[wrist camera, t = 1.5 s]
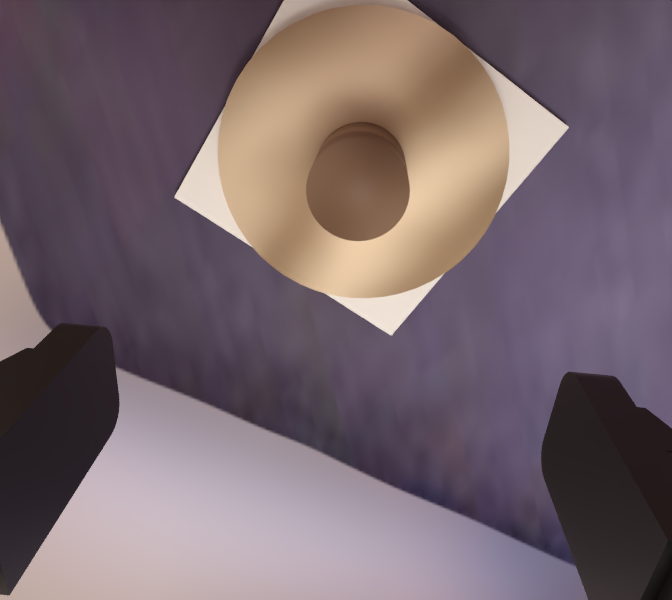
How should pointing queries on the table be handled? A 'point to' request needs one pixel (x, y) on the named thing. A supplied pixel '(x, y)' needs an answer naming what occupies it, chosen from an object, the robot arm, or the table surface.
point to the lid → (363, 151)
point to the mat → (524, 154)
